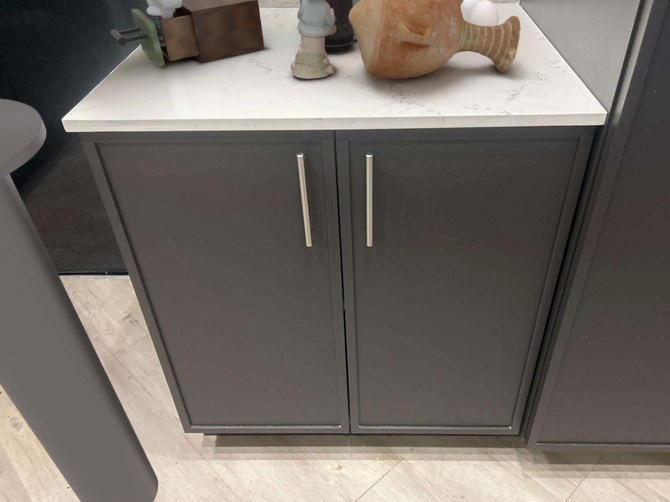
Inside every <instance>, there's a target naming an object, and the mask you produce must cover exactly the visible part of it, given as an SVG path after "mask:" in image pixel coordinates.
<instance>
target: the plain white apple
mask: <svg viewBox="0 0 670 502" xmlns="http://www.w3.org/2000/svg"><path fill="white" fill-rule="evenodd" d="M481 1H483V0H464V1H463V3H462V4H461V7H460V8H461V12H462V16H463V18H464V20H465V21H467V22H469V18H470V14H471V12H472V10H473V8H474V7H475V6H476V4H478V3H479V2H481Z"/></svg>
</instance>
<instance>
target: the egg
mask: <svg viewBox="0 0 670 502" xmlns="http://www.w3.org/2000/svg"><path fill="white" fill-rule="evenodd" d="M499 19H500V18H499V12H498V8H497V6H496V5H495V4H494V3H493V1H491V0H483V1H481V2H479V3H478V4H476V6H475V7H474V8H473V10H472V12H471V14H470V18H469V23H472V24H475V25H480V26H496V25H499V21H500V20H499Z"/></svg>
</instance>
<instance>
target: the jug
mask: <svg viewBox="0 0 670 502" xmlns="http://www.w3.org/2000/svg"><path fill="white" fill-rule="evenodd" d="M463 1H464V0H360V1H359V2H358V3H357V4H356V5H355V6H354V7H353V8H352V9H351V10H350V13H349V21H350V23H351V25H352V27H353V30H354V32H355V35H356V38H357V41H356V42H357V45H358V48H359V51H360V56H361V59H362V60H361V61H362V63H363V66H364V69H365V71H366V72H367V74H368V75H370V76H372V77H375V78H380V79H386V80H401V79H402V80H405V79H410V78H416V77H421V76H424V75H427V74H430V73H432V72H434V71H437V70H438V69H440V68H441V67H443V66H444V65H445V64H447V63H448V62H449V61H450V59H452V57H454V56H455V55H457V54H459V53H464V52H465V53H467V52H471V53H475V54H478V55H481V56H484V57H486V58H488V59H489V60H491V62H492V63H493V64H494V67H495V68H496V70H497V71H498V72H500V73H502V72H505V71H506V70H507V69H508V68H509V67H510V66H511V65H512V63H513V62H514V61H515V59H516V57H517V54H518V48H519V44H520V43H519V42H520V38H521V37H520V36H521V30H522V29H521V20H520V17H518V16H517V15H510V16H509V17H508V18H507V19H505V21H504V22H503V23H501V24H498V25H496V26H480V25H475V24H472V23H469V22H467V21H465V20H464V18H463V16H462V12H461V8H460V7H461V4H462V3H463Z"/></svg>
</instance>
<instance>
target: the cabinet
mask: <svg viewBox="0 0 670 502" xmlns="http://www.w3.org/2000/svg"><path fill="white" fill-rule="evenodd" d="M181 8H182V9H183V10H185V11H186V12H188V13H189V14H191V17H192V22H193V27H194V31H195V36H196V41H197V46H198V50H199V55H196V56H194V58H195V59H197V60H198V61H199V62H201V64H203V63H208V62H213V61H217V60H222V59H225V58H226V59H227V58H230V57H235V56H239V55H244V54H248V53H253V52H259V51H262V50H265V49H266V48H265V42H264V33H263V26H262V19H261V11H260V4H259V0H182V6H181Z"/></svg>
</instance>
